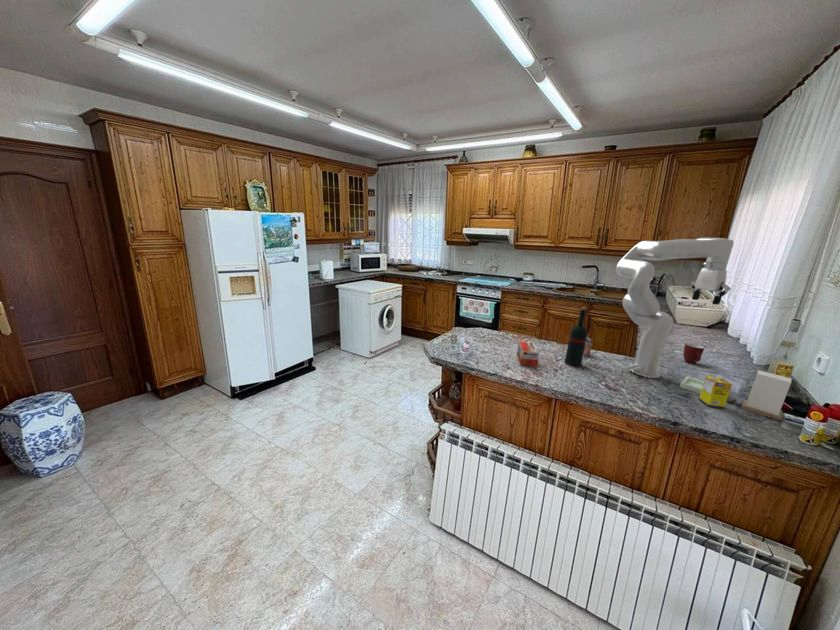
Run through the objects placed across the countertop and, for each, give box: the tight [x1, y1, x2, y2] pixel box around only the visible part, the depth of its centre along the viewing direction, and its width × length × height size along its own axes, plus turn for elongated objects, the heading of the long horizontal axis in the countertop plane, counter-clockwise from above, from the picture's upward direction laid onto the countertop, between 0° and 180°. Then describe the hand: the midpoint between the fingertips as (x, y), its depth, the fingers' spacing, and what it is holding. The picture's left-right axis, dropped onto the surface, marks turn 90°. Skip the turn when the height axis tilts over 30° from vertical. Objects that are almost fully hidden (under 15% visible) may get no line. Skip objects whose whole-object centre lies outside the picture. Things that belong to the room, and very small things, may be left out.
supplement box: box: [698, 375, 733, 410], centre depth 131 cm, size 6×6×11 cm
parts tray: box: [679, 376, 705, 395], centre depth 146 cm, size 12×12×2 cm
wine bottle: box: [564, 306, 588, 368], centre depth 164 cm, size 8×10×30 cm
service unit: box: [740, 369, 792, 421], centre depth 127 cm, size 8×11×16 cm
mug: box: [683, 342, 705, 365], centre depth 175 cm, size 10×8×10 cm
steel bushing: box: [726, 390, 739, 405], centre depth 136 cm, size 5×5×4 cm
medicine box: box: [516, 340, 540, 368], centre depth 166 cm, size 15×8×8 cm, turn 171°
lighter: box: [583, 336, 593, 357], centre depth 179 cm, size 8×3×10 cm, turn 5°
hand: (705, 301), depth 154 cm, fingers open, 9 cm apart
